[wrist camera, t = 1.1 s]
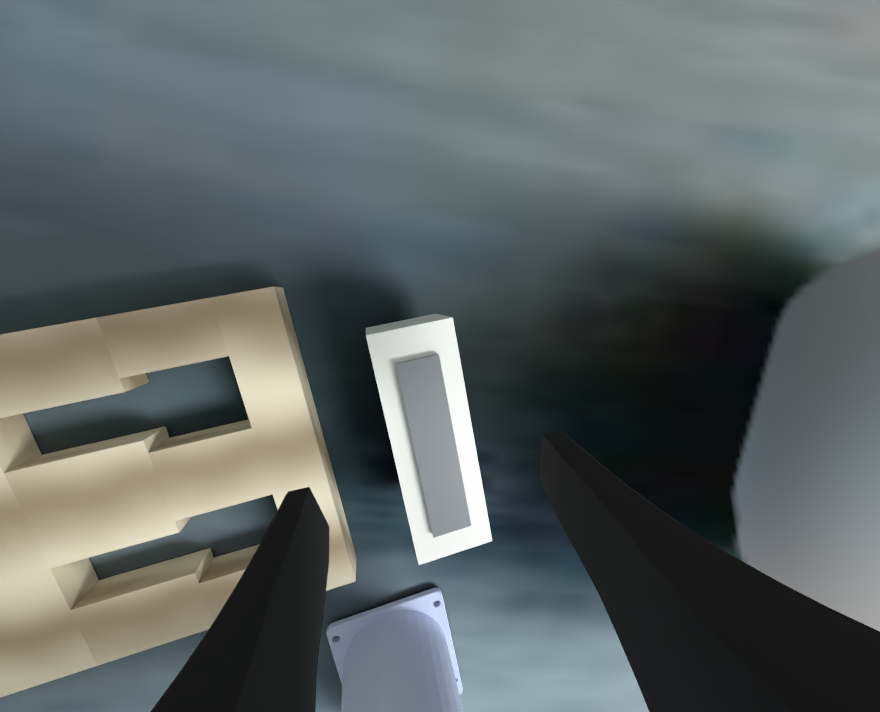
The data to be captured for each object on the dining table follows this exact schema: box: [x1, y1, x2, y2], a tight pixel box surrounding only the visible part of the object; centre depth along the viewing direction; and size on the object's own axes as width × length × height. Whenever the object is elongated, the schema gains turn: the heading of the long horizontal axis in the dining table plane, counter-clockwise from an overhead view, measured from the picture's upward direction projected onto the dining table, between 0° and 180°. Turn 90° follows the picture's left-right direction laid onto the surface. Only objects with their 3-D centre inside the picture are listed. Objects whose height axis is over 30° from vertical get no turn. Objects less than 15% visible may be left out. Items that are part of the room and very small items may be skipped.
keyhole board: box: [0, 287, 356, 698], centre depth 19 cm, size 18×20×2 cm
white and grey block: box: [366, 314, 492, 565], centre depth 19 cm, size 12×4×6 cm, turn 11°
